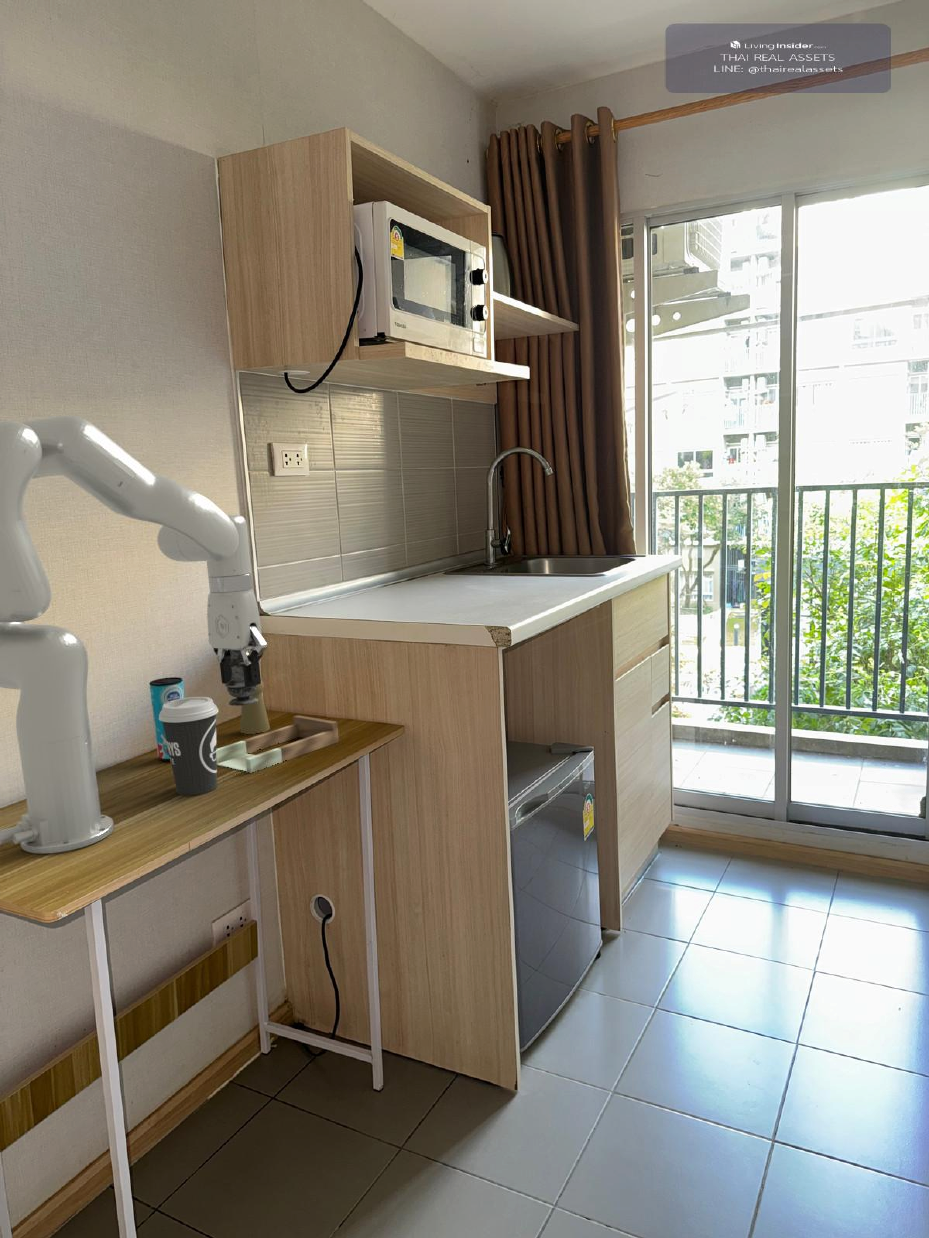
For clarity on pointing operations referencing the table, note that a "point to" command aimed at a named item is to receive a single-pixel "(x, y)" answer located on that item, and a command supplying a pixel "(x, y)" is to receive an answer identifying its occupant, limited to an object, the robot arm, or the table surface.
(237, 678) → the grey chess piece
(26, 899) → the table surface
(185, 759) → the coffee cup
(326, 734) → the bay
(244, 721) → the cork
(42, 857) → the table surface
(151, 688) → the beverage can
